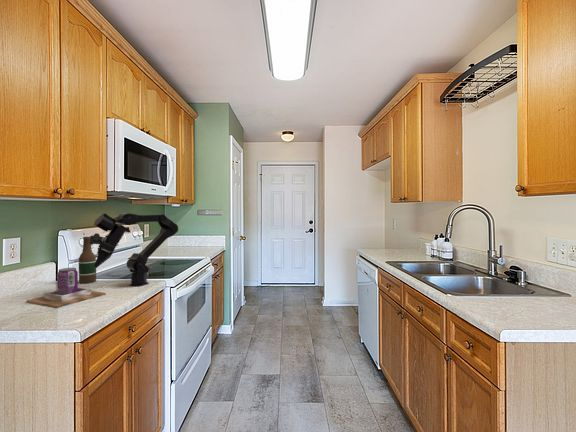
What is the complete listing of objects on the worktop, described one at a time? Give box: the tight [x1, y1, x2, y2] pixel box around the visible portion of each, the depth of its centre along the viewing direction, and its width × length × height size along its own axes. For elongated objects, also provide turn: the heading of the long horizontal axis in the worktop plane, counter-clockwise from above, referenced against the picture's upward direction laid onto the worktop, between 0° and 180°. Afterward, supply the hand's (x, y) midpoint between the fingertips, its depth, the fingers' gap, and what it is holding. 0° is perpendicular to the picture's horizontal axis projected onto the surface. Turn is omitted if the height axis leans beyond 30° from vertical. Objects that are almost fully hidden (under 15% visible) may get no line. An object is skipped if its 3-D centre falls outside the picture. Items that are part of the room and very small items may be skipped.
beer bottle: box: [78, 236, 97, 285], centre depth 159 cm, size 8×8×24 cm
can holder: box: [25, 286, 107, 309], centre depth 130 cm, size 20×20×3 cm
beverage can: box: [56, 267, 79, 295], centre depth 128 cm, size 7×7×12 cm
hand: (95, 266), depth 136 cm, fingers open, 9 cm apart
